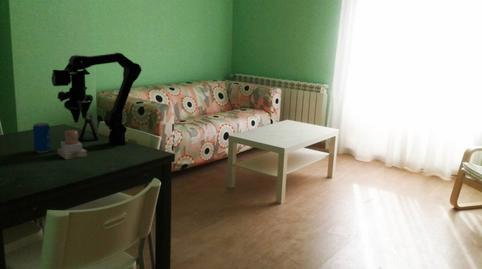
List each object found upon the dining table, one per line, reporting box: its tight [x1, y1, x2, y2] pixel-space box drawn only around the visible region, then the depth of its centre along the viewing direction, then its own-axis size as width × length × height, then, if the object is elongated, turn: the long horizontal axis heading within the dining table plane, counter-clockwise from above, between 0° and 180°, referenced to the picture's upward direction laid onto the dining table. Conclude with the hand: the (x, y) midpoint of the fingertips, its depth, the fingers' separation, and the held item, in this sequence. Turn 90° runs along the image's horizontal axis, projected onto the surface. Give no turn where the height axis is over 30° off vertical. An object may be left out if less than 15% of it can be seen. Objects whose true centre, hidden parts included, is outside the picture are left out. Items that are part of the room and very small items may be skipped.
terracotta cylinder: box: [64, 129, 79, 145], centre depth 187 cm, size 5×5×5 cm
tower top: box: [60, 140, 83, 153], centre depth 188 cm, size 7×7×3 cm
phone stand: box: [78, 113, 100, 142], centre depth 213 cm, size 9×6×12 cm, turn 103°
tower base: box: [57, 147, 88, 160], centre depth 189 cm, size 9×9×3 cm
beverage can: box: [32, 122, 52, 154], centre depth 190 cm, size 6×6×12 cm
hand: (80, 120), depth 196 cm, fingers open, 9 cm apart
